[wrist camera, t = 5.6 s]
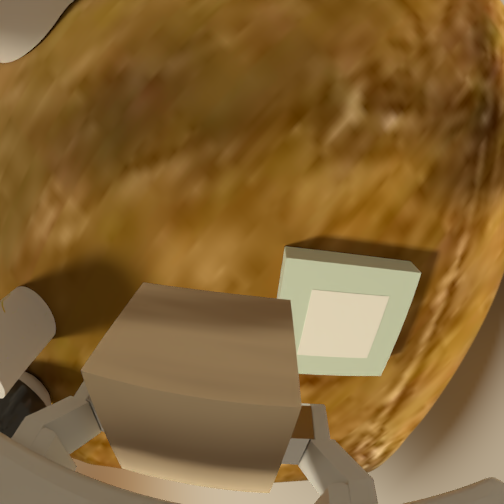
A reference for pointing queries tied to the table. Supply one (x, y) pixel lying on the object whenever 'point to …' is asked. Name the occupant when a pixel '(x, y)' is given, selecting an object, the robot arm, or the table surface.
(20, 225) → the table surface
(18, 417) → the pump dispenser
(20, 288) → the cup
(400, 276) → the sage base
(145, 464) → the beech block
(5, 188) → the table surface
